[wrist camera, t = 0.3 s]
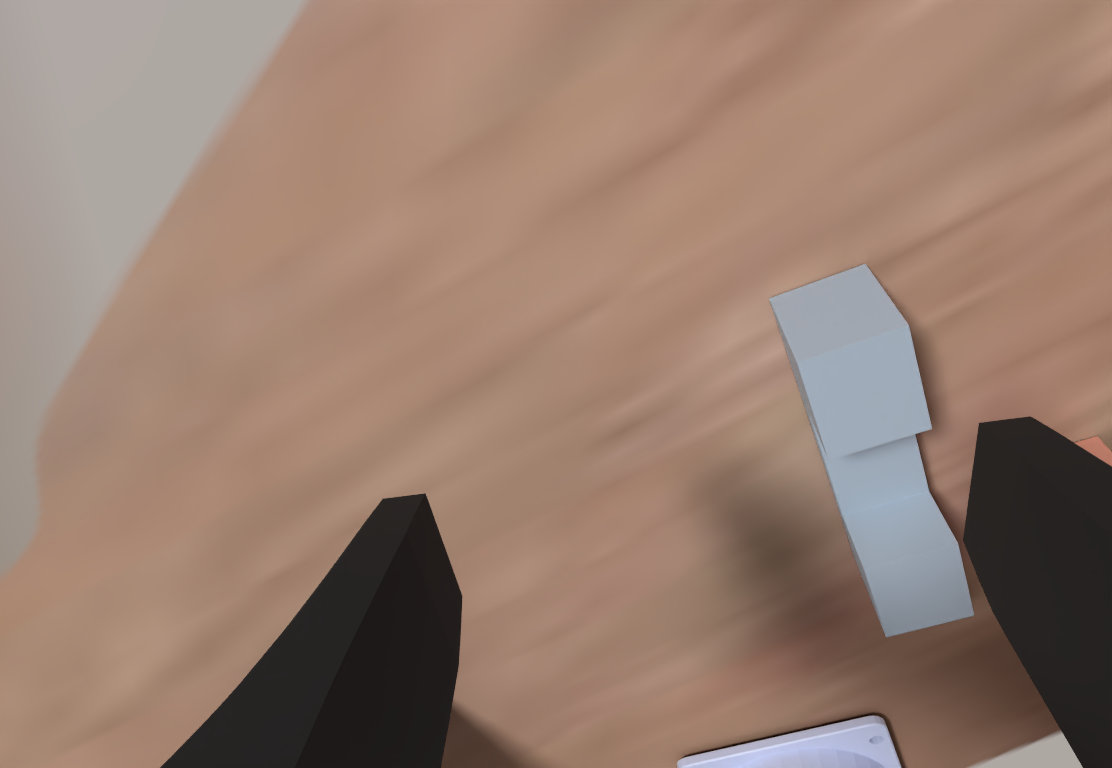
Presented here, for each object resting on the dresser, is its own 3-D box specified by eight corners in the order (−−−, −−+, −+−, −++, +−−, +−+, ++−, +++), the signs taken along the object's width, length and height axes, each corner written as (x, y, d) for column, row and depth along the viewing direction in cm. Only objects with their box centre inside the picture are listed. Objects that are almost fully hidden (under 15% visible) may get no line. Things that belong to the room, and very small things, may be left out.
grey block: (933, 537, 24) (974, 615, 22) (854, 558, 25) (885, 637, 22) (865, 263, 19) (908, 325, 17) (768, 298, 20) (796, 363, 17)
